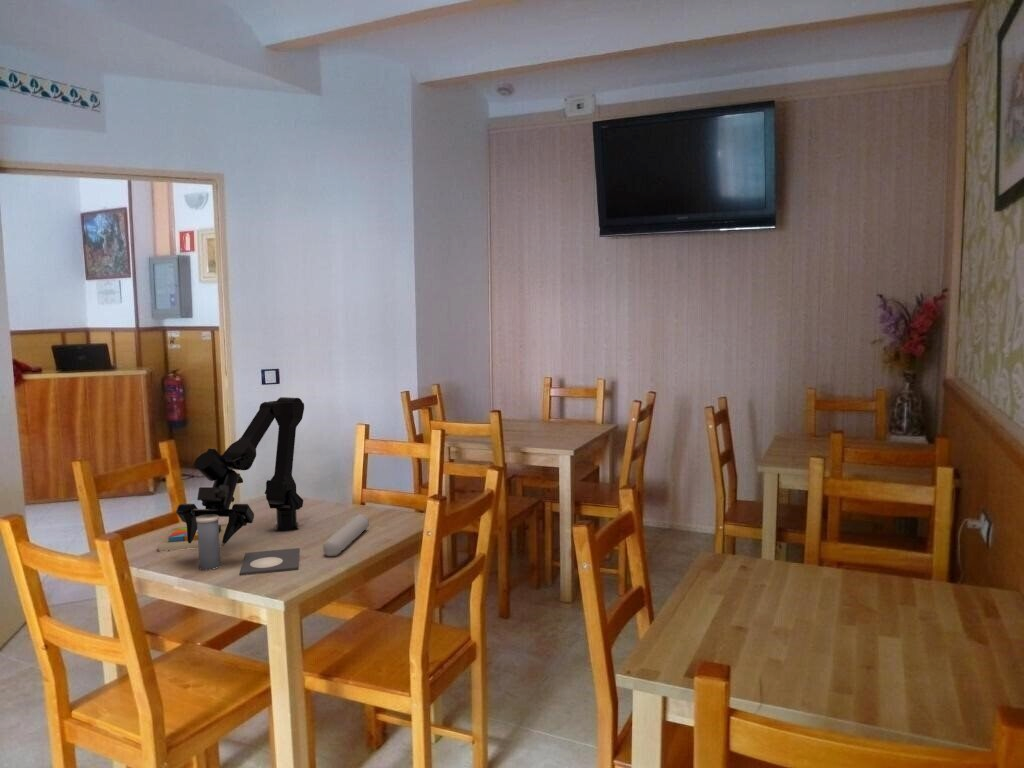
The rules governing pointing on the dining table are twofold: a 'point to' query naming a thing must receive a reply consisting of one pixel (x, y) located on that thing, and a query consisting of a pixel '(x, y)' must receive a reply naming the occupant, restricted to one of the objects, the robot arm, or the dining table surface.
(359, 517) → the tube
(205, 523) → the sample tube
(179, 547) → the wooden puzzle
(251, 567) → the mat
